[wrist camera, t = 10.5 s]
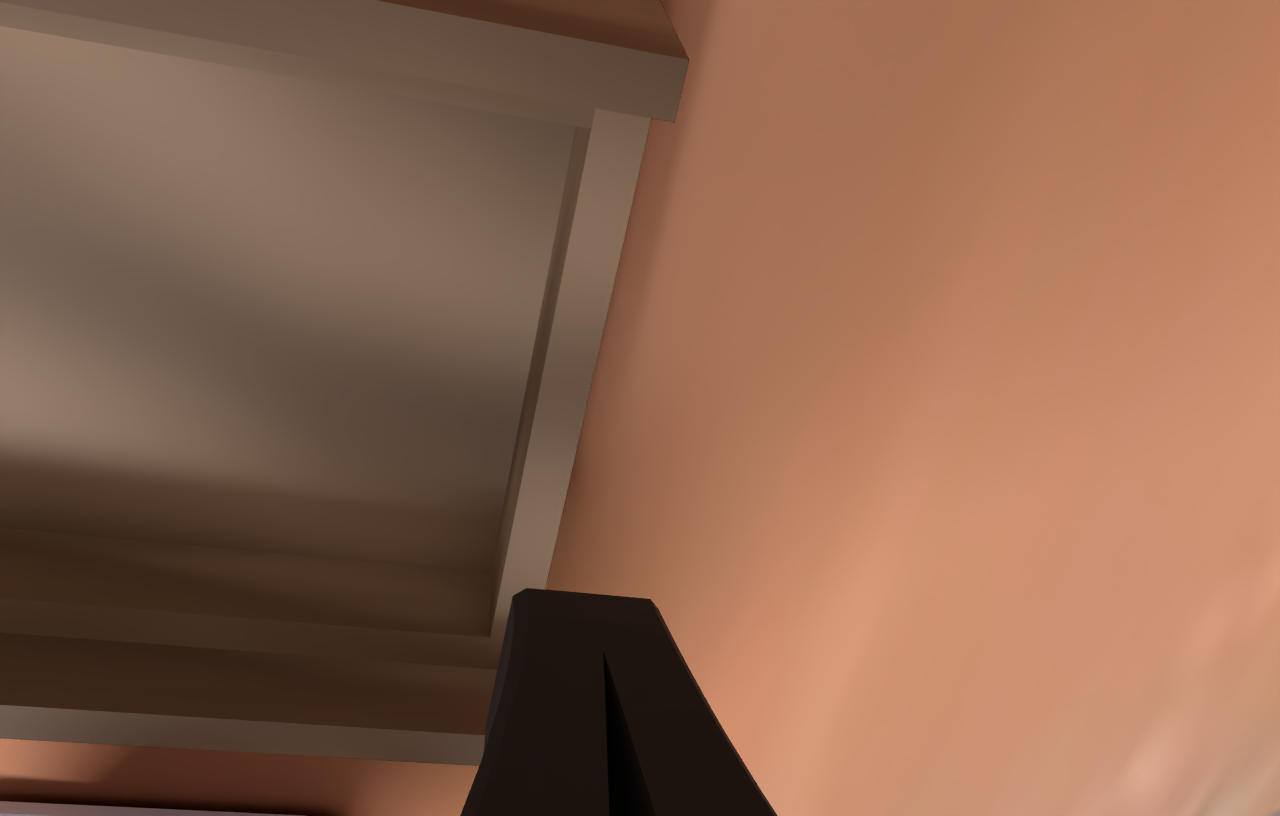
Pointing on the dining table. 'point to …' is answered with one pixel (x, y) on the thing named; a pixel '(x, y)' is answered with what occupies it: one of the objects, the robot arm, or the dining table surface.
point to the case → (298, 353)
